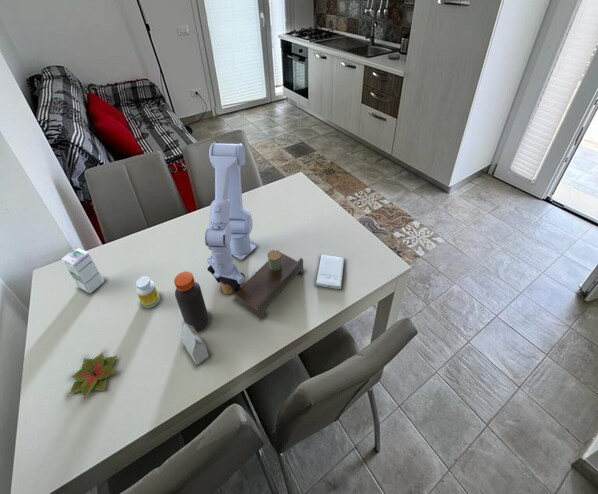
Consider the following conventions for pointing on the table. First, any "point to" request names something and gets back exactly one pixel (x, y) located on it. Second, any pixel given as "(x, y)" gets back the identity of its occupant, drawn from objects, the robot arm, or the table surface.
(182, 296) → the vinegar
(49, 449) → the table surface
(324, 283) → the hard drive
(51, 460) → the table surface
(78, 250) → the syrup box
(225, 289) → the ochre jar
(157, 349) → the table surface
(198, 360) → the white gable top packet
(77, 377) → the red green leafy plant
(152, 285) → the supplement bottle
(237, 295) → the spice shelf
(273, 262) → the sage jar
